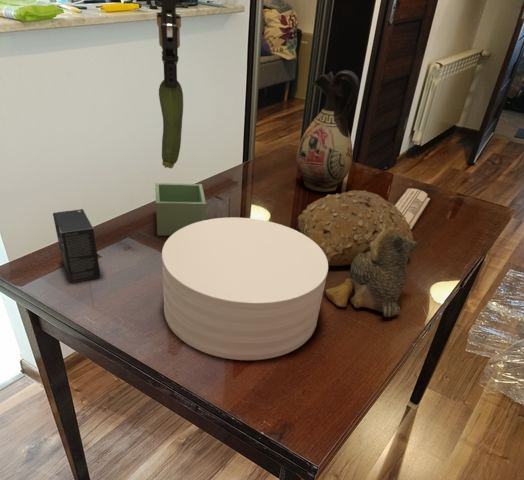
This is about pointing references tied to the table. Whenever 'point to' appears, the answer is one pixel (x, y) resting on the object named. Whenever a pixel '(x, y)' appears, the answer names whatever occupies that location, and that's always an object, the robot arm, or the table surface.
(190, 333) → the plate stack
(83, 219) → the box
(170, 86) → the robot arm
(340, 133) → the ceramic jug
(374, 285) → the figurine
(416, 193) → the newspaper
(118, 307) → the table surface
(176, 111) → the vegetable
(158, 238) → the table surface
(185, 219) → the bin
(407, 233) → the bread
